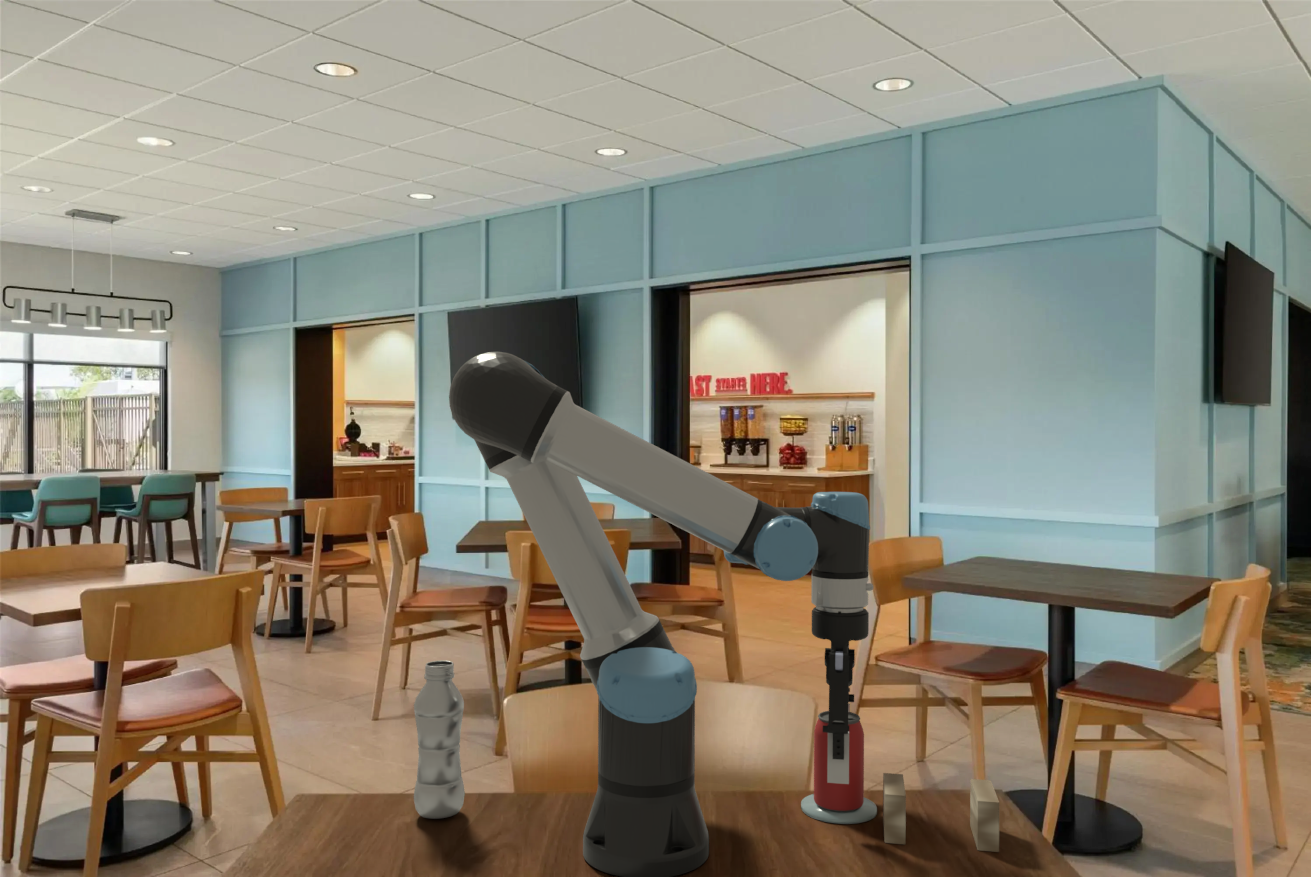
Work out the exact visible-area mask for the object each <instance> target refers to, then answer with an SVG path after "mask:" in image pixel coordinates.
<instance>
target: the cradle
mask: <svg viewBox="0 0 1311 877" xmlns="http://www.w3.org/2000/svg"><path fill="white" fill-rule="evenodd" d="M882 775H883V776H882V781H883V782H882V824H883V825H882V826H883V837H884V838H883V839H884V843H885V844H896V845H906V826H907V824H906V822H907V817H906V816H907V814H906V813H907V812H906V811H907V807H906V806H907V803H906V802H907V800H906V799H907V795H906V794H907V793H906V789H905V788H906V787H905V780H904V774H902V773H889V772H883V773H882ZM995 790H996V789H995V788H994V785H993V783H992V780H989V779H975V778H970V791H969V792H970V795H969V798H970V799H969V800H970V801H969V802H970V803H969V804H970V806H969V807H970V809H969V810H970V811H969V812H970V814H969V816H970V817H969V827H970V830H971V833H972V835H973V837H972V838H973V840H974V843H975V847H976V850H977V851H983V852H993V853H994V852H995V853H1000V801H999V798H998V795H997V793H996V791H995Z"/></svg>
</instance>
